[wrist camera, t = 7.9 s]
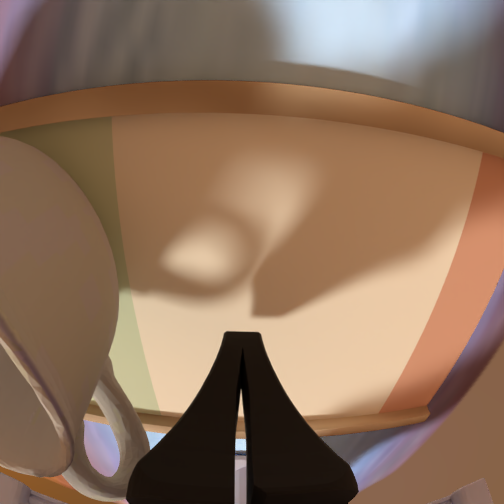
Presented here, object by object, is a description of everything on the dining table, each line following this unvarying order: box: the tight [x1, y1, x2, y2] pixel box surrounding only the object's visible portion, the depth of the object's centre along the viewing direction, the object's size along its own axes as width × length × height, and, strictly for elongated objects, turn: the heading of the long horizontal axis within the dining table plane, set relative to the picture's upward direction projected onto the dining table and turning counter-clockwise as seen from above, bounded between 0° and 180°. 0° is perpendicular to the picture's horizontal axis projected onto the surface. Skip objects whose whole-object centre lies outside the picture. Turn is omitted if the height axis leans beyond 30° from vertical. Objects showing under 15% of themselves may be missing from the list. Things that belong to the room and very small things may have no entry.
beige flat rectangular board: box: [0, 80, 504, 439], centre depth 13 cm, size 19×33×1 cm, turn 87°
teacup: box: [0, 136, 150, 501], centre depth 9 cm, size 14×11×8 cm
